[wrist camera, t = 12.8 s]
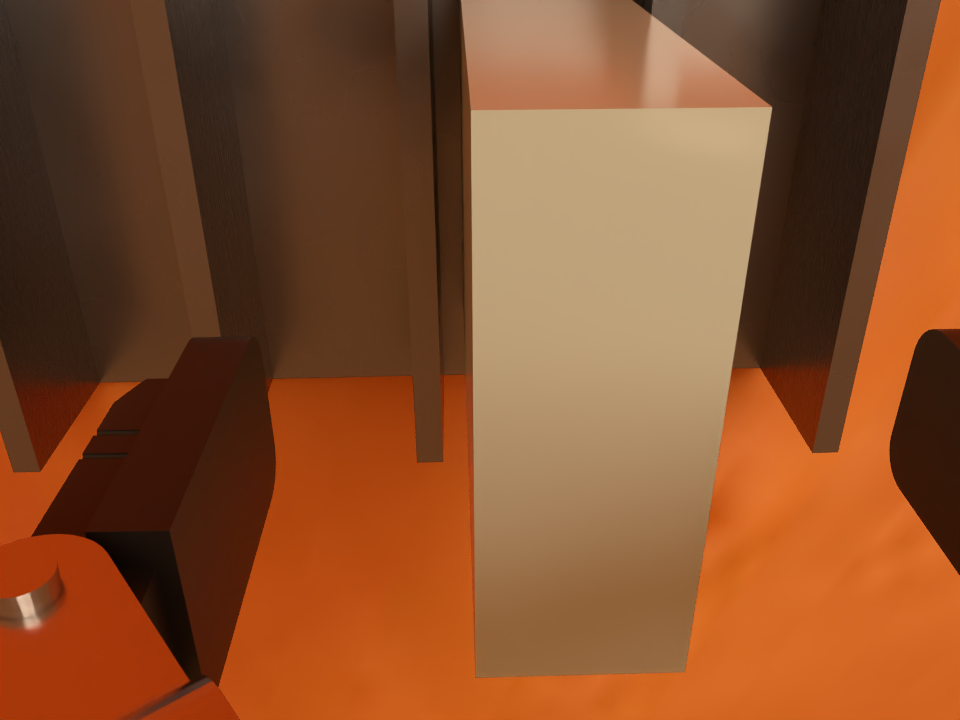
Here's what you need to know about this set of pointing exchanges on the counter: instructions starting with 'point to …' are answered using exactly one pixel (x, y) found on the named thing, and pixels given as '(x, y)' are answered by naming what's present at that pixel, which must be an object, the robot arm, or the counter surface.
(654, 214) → the tall cream pillar
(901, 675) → the counter surface
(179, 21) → the dish rack
